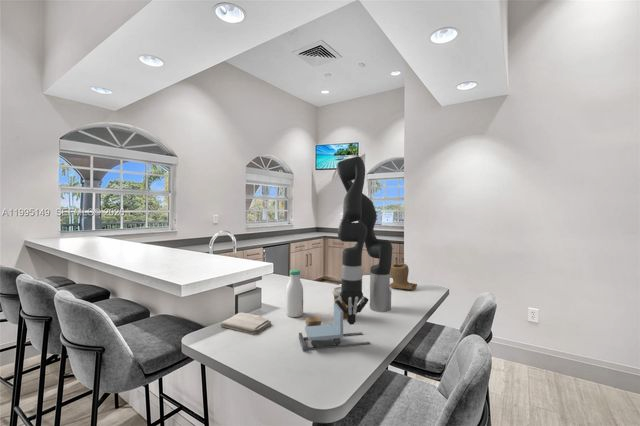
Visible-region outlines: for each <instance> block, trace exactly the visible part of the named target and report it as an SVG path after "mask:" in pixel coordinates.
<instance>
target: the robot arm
mask: <svg viewBox="0 0 640 426" xmlns="http://www.w3.org/2000/svg"><path fill="white" fill-rule="evenodd" d="M336 168H337V173H338V176H339V179H340V181H341V183H342V185H343V187H344V189H345V191H346V194H345V197H344V199H343V206H342V208H343V209H342V211H343V212H342V218H341V220H340V223H339V226H338V229H337V237H338V239H339V241H341V242H343V243H344V242H347V243H351V242H352V243H356V244H355V245H354V246H353V247H348V248H344V249H343V250H342V260H341V262H342V263H341V265H342V266H341V286H340V287H341V293H340V297H338V298H337V299H335V300H334V299H333V301H335V302H336V303H337V305H338V306H339V307H340V308H341V310H342V311H343V312H344V313H345V314H347V318H346V321H347V324H349V325H350V326H352V325H355V323H356V315H357V314H358V313H359V314H360V313H361V312H362V310H363V309H364V308H365V306H366V305H367V304H368V302H369V308H370V310H372V311H374V312H380V313H381V312H384V313H385V312H387V311H391V310H392V289H390V288H391V287H390V284H391V271H390V269H391V265H392V263H393V262H392V259H393V258H392V257H393V245H392V242H391V240H387V239H379V238H377V237H376V234H375V230H374V228H375V226H376V222H377V218H378V215H377V211H376V208H375V206H374V202H373V201H372V199H370V198H369V197H368V196H367V195H365V194H364V193H363V192H364V191H363V190H364V184H365V179H366V178H365V177H366V166H365V163H364V160H363V158H362V157H360V156H353V157H350V158H346V159H343V160H340V161H338V162H337V164H336ZM364 246H365V248H366V252H367V254H368V255H369V257H371V258H373V259H378V263H377V264H374V265H372V266H371V265H370V268H369V270H370V271H369V273H370V274H369V277H370V282H369V298H367V296H364V293H363V266H362V264H363V263H362V262H363V258H362V257H363V248H364ZM342 300H343V301H344V302H345V304H346V309H345V308H344V307H343V305H342V304H341V303H342ZM335 302H334V303H335Z"/></svg>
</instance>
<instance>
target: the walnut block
mask: <svg viewBox="0 0 640 426" xmlns="http://www.w3.org/2000/svg"><path fill="white" fill-rule="evenodd" d="M320 325H322V320H321V318H320V317H319V316H318V315H316V316H315V315H314V316H306V317H305V327H307V326H320Z"/></svg>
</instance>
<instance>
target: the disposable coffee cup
mask: <svg viewBox="0 0 640 426" xmlns="http://www.w3.org/2000/svg"><path fill="white" fill-rule="evenodd" d="M332 293H333V301H334V300H335V299H337V298H338V297H340V293H341V286H338V287H337V286H336V287H334V288H333V291H332ZM334 303H336V302H335V301H334ZM341 304H342V305H343V307H344V308H345V309H346V304H345V302H344V301H343V300H342V303H341ZM343 320H347V314H345V313H344V312H343Z"/></svg>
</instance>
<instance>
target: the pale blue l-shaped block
mask: <svg viewBox="0 0 640 426" xmlns="http://www.w3.org/2000/svg"><path fill="white" fill-rule="evenodd" d="M304 331H305V333H306V337H308V339H307V340H308V341H310V344H311V347H317V346H319V341H322V340H324V341H325V340H332V341H333V345H339V344H341V342H342V341H341V339H343V338H344V336H343V334H344V319H343V311H342V310H341V308H340V307H339V306H338V305H337V303H335V302H334V303H333V324H321V325H320V326H307V327H306V326H304Z"/></svg>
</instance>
